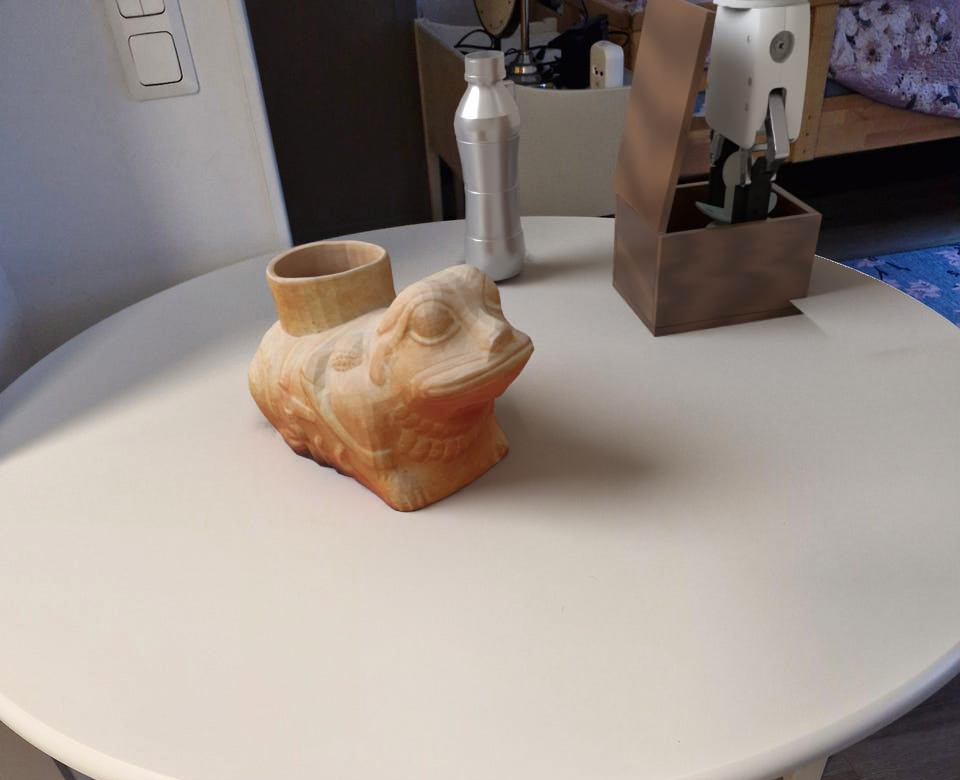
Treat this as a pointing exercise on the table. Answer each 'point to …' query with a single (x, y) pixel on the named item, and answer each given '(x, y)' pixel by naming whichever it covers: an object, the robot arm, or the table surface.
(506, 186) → the silver bottle
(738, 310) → the chest
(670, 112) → the lid
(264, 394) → the ceramic vessel
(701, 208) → the pacifier
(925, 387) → the table surface
